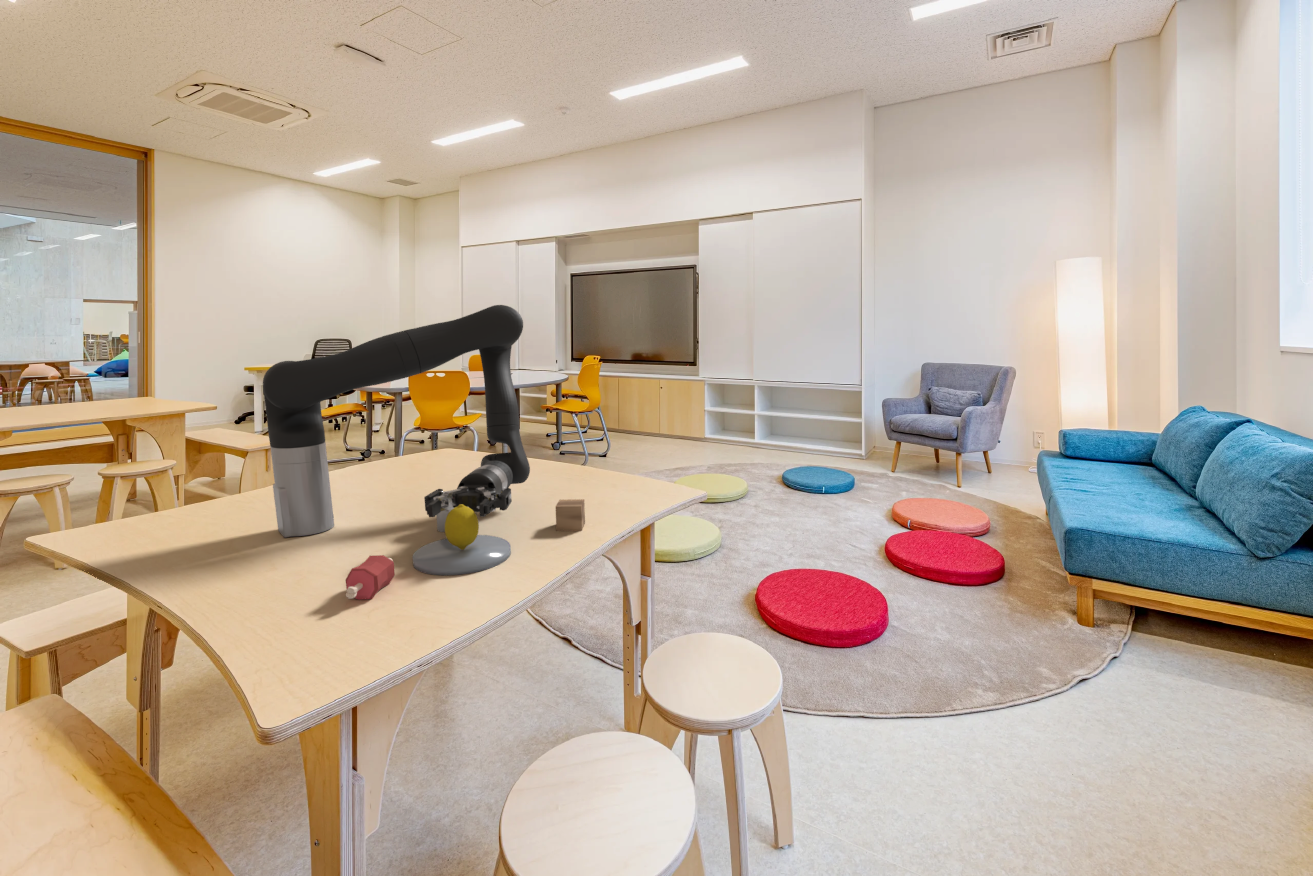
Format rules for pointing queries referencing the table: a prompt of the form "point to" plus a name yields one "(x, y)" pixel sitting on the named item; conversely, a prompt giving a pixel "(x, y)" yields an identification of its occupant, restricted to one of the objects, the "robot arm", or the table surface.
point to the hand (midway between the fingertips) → (456, 511)
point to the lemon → (461, 526)
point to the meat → (369, 577)
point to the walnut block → (570, 515)
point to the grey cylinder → (442, 518)
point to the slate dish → (461, 556)
